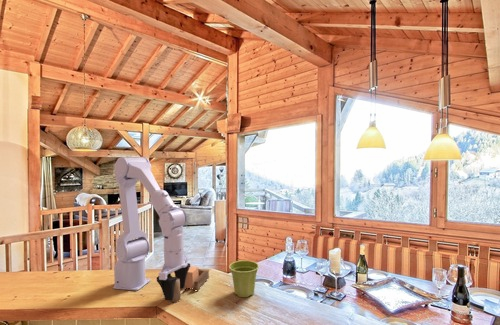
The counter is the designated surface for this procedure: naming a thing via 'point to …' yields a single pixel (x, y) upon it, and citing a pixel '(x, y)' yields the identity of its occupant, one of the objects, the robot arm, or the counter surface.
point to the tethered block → (189, 283)
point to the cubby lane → (201, 278)
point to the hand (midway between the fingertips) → (175, 293)
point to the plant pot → (244, 277)
